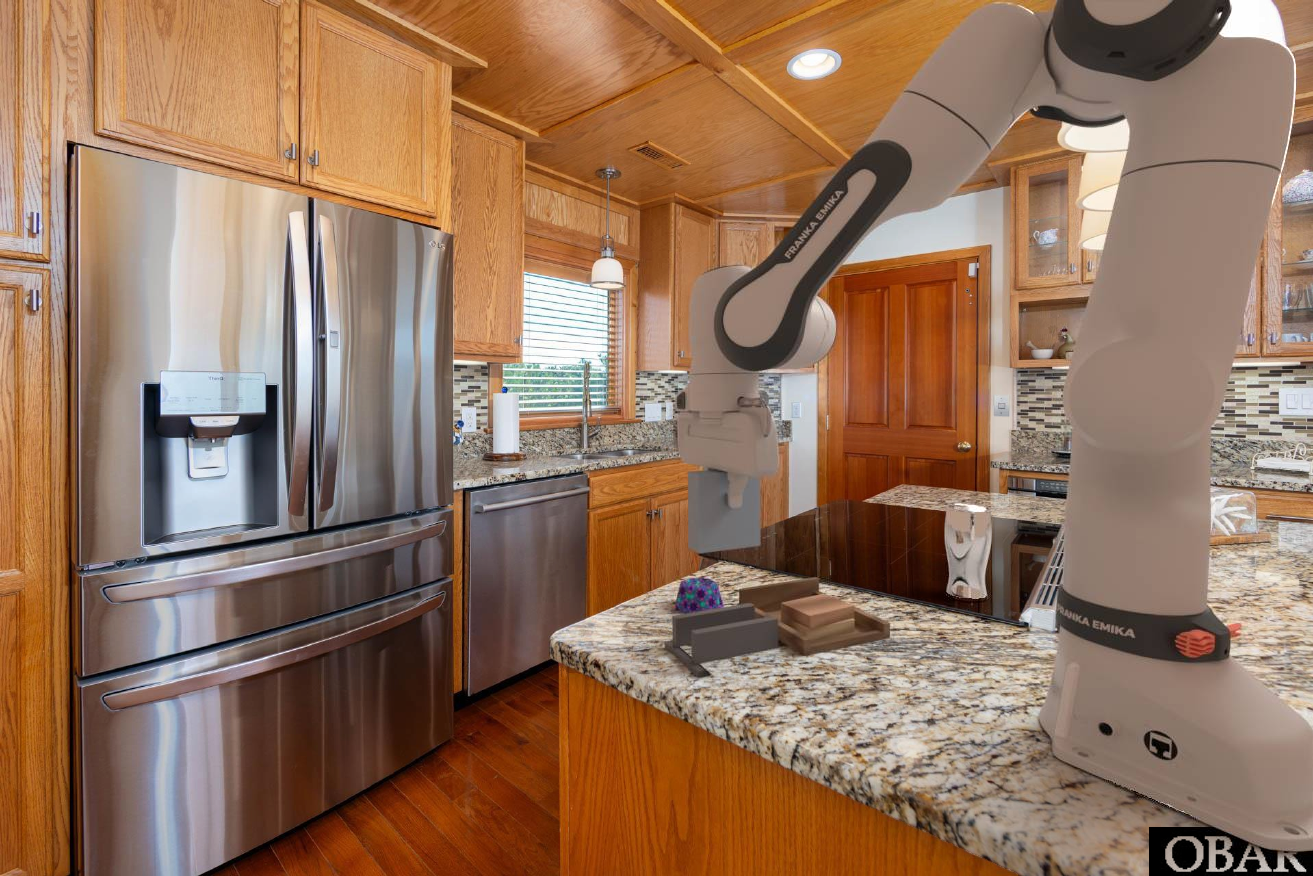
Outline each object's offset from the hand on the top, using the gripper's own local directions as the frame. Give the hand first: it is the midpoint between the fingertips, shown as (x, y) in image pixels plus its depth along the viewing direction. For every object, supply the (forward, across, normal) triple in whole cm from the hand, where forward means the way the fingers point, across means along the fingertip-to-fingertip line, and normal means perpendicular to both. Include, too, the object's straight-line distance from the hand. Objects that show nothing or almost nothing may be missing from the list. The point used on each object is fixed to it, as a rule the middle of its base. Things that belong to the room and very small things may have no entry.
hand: (724, 504), depth 81 cm
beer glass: (+20, +3, -47) cm, 52 cm away
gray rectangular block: (+6, 0, 0) cm, 6 cm away
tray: (+20, +1, -14) cm, 25 cm away
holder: (+20, 0, 0) cm, 20 cm away
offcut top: (+17, 0, -14) cm, 22 cm away
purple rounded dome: (+20, +15, -4) cm, 26 cm away
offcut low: (+19, 0, -14) cm, 24 cm away
